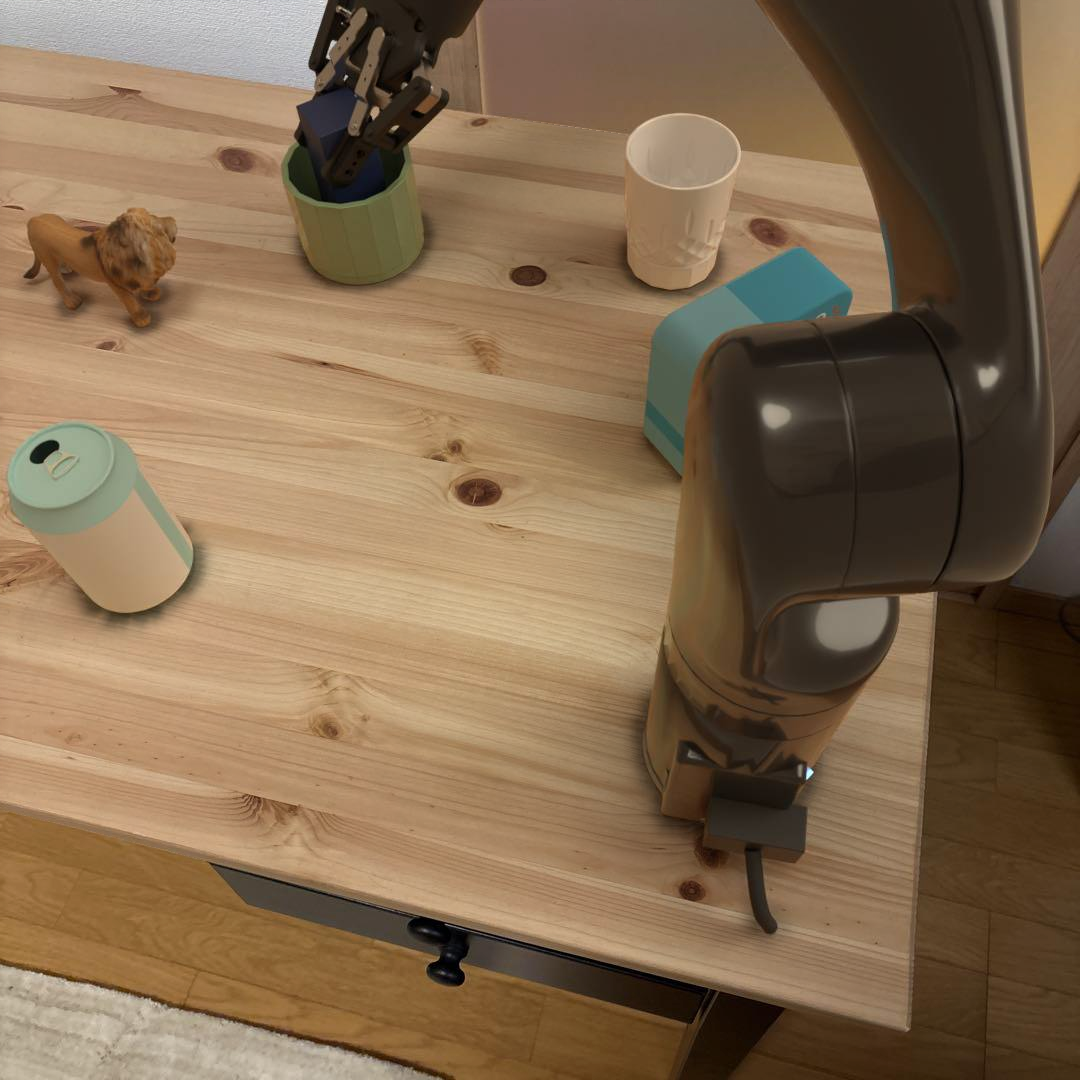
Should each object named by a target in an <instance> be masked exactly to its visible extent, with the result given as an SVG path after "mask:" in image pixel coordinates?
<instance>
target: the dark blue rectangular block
mask: <svg viewBox="0 0 1080 1080" xmlns="http://www.w3.org/2000/svg"><path fill="white" fill-rule="evenodd" d="M356 103H357V97H356V95H354V94H353V92H352V91H351V90H350V89H349V87H348V86H346V87H343V88H341V89H338V90H336V91H333V92H330V93H328V94H325V95H323V96H320V97H318V98H315V99H312V98H311V99H310V100H307V101H305V102H303V103H300V104H297V105H296V106H295V108H296V112H297V115H298V119H299V122H300V123H301V127H302V130H303V134H304V137H305V141H306V145H307V148H308V152H309V155H310V159H311V163H312V166H313V170H314V173H315V177H316V181H317V184H318V188H319V191H320V195H321V199H322V202H328V203H336V204H343V203H349V202H356V201H362V200H366V199H368V198H370V197H372V196H374V195H376V194H378V193H381V192H383V191H385V190H386V189H387V187H386V182H385V177H384V172H383V168H382V163H381V158H380V153H379V148H375V149H374V150H373V151H372V152H371V154H370V155H369V157H368V159H367V160H366V162H365V164H364V165H363V167H362V168H361V170H360V172H359V173H358V175H357V177H356V179H355V180H354V182H353V183H351V184H350V185H349V186H348V187H346V188H340V187H338V186H335V185H332V184H330V183H327V182H326V181H325V180H324V178H323V177H322V176H321V173H320V171H321V168H322V167H323V165H324V163H325V162H326V161H327V159H328V157H329V156H330V154H331V152H332V150H333V149H334V147H335V145H336V144H337V142H338V140H339V138H340V137H341V135H342V133H343V131H344V130H347V131H348V125H349V122H350V119H351V117H352V114H353V111H354V109H355V106H356ZM373 120H374V119H373V116H372V114H370V116H369V119H368V121H367V122H369V123H371V122H372V121H373Z"/></svg>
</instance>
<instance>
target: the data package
mask: <svg viewBox="0 0 1080 1080" xmlns="http://www.w3.org/2000/svg"><path fill="white" fill-rule="evenodd" d="M853 297H854V292H853V290H852V288H851V287H849V285H847V284H846V283H845V282H844V281H843V280H842V279H840V278H839V276H837V275H836V274H835V273H834V272H832V271H831V269H829V268H828V267H827V266H826V265H825V264H824V263H822V262H821V260H819V259H818V258H817V257H816V256H814V255H813V254H812V253H811V252H810V251H809V250H808V249H806V247H803V246H794V247H792V248H789V249H787V250H785V251H783V252H781V253H779V254H778V255H775V256H774V257H772V258H770V259H768V260H767V261H765V262H763V263H761V264H759V265H757V266H755V267H754V268H752V269H750V270H748V271H746V272H745V273H742V274H740V275H739V276H737V277H735V278H733V279H731V280H729V281H727V282H726V283H724V284H722V285H720V286H718V287H716V288H714V289H712V290H711V291H709V292H707V293H705V294H703V295H701V296H699V297H697V298H696V299H694V300H692V301H690V302H688V303H686V304H685V305H683V306H681V307H679V308H677V309H675V310H674V311H671V312H670V313H669V314H668V315H667V316H665V318H663V319H662V321H660V323H659V324H658V325H657V327H656V329H655V330H654V332H653V335H652V338H651V346H650V355H649V364H648V367H649V368H648V374H647V383H646V385H647V386H646V397H645V405H644V413H643V414H644V415H643V426H642V432H643V435H644V436H645V437H646V438H647V440H648V441H649V442H650V443H651V444H652V445H653V446H654V447H655V448H656V449H657V451H658V452H659V453H660V454H661V455H662V456H663V457H664V458H665V460H666V461H667V462H668V463H669V464H670V465H671V466H672V467H673V468H674V470H675V471H676V472H677V473H678V474H679V475H680V476H681V477H682V474H683V456H684V437H685V425H686V416H687V407H688V400H689V395H690V391H691V387H692V382H693V378H694V374H695V371H696V369H697V367H698V364H699V362H700V360H701V357H702V356H703V354H704V353H705V351H706V350H707V348H708V347H709V345H710V344H711V343H712V342H713V341H714V340H715V339H716V338H717V337H718V336H719V335H721V334H722V333H723V332H725V331H728V330H730V329H732V328H736V327H741V326H746V325H755V324H765V323H775V322H784V321H801V320H805V319H815V318H826V317H837V316H848V313H849V310H850V308H851V305H852V302H853Z"/></svg>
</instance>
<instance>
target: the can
mask: <svg viewBox="0 0 1080 1080" xmlns="http://www.w3.org/2000/svg"><path fill="white" fill-rule="evenodd" d="M6 483H7V487H8V501H9V504H10V508H11V510H12V512H13V514H14V516H15V517H16V518H17V520H18V521H19V522H20V523H21V524H22V525H23V526H24V528H25V529H26V530H27V531H29V533H30V534H31V535H32V537H34V539H35V540H36V541H37V542H38V543H39V544H40V545H41V546H42V547H43V548H44V549H45V550H46V552H48V554H49V555H50V556H51V557H52V558H53V559H54V560H55V562H57V564H59V566H60V567H61V568H62V569H63V571H65V572H66V573H67V575H68V576H69V577H70V578H71V579H72V580H73V581H74V582H75V583H76V584H77V585H78V586H79V588H80V589H81V590H82V591H83V592H84V593H85V594H86V595H87V596H88V597H89V599H90V600H91V601H92V602H94V604H96V605H98V606H99V607H101V608H102V609H105V610H107V611H111V612H114V613H122V614H123V613H124V614H126V613H127V614H128V613H136V612H141V611H145V610H148V609H152V608H153V607H156V606H159V605H160V604H161V603H164V602H165V601H167V600H168V599H169V598H170V597H172V596H173V595H174V594H175V593H176V592H177V591H178V590H179V589H180V588H181V586H183V584H184V582H185V581H186V580H187V578H188V576H189V574H190V572H191V570H192V566H193V561H194V547H193V543H192V540H191V538H190V536H189V534H188V533H187V531H186V530H185V528H184V526H183V524H182V523H181V521H180V520H179V519H178V517H177V516H176V514H175V512H174V511H173V509H172V508H171V507H170V505H169V503H168V502H167V500H166V499H165V497H164V496H163V494H162V493H161V491H160V489H159V488H158V487H157V485H156V483H155V482H154V480H153V479H152V478H151V476H150V474H149V473H148V471H147V470H146V468H145V467H144V465H143V463H142V462H141V460H140V459H139V457H138V456H137V455H136V453H135V451H134V450H133V448H132V447H131V446H130V444H129V443H128V442H126V441H125V439H123V438H122V437H120V436H118V435H117V434H115V433H113V432H110V431H108V430H105V429H103V428H101V427H100V426H98V425H96V424H94V423H91V422H87V421H83V420H68V421H61V422H56V423H53V424H49V425H48V426H44V427H43V428H41V429H39V430H37V431H35V432H34V433H32V434H31V435H29V437H27V438H26V439H25V440H24V441H22V443H21V444H19V445H18V446H17V448H16V449H15V451H14V452H13V454H12V455H11V458H10V459H9V461H8V464H7V469H6Z"/></svg>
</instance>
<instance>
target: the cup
mask: <svg viewBox="0 0 1080 1080" xmlns="http://www.w3.org/2000/svg"><path fill="white" fill-rule="evenodd" d="M395 130H396V129H393V128H391V129H390V132H392V133H393V132H394V131H395ZM378 148H379V147H378ZM410 149H411V148H410V145H409V143H408V144H407V145H406V146H405V147H404V148H403V149H402V150H401V151H400V152H399V153H397V154H393V153H390V152H388V151H387V150H384V149H382V148H379V153H380V158H381V163H382V168H383V172H384V177H385V182H386V187H387V189H386V190H385V191H383V192H381V193H378V194H376V195H374V196H372V197H370V198H368V199H366V200H362V201H356V202H349V203H343V204H336V203H328V202H322V199H321V195H320V191H319V188H318V184H317V181H316V177H315V173H314V170H313V166H312V163H311V159H310V155H309V152H308V149H307V148H305V147H303V146H300V145H299V144H298V142H297V141H296V140H295V142H293V144H291V145H290V146H289V147H288V149H287V151H286V153H285V155H284V157H283V159H282V162H281V164H280V171H281V180H282V181H281V182H282V184H283V188H284V191H285V194H286V198H287V201H288V203H289V207H290V210H291V213H292V217H293V220H294V223H295V226H296V231H297V233H298V237H299V239H300V242H301V247H302V249H303V252H304V253H305V255H306V258H307V260H308V262H309V264H310V265H311V267H312V268H313V269H314V270H315V272H317V273H318V274H320V275H321V276H323V277H325V278H326V279H328V280H330V281H333V282H335V283H340V284H343V285H345V284H346V285H352V286H353V285H354V286H356V285H357V286H358V285H359V286H360V285H361V286H363V285H372V284H377V283H380V282H383V281H387V280H389V279H392V278H394V277H396V276H397V275H400V274H401V273H403V272H405V270H407V269H408V268H409V267H410V266H412V264H413V263H414V262H415V261H416V260H417V258H418V257H419V255H420V254H421V252H422V249H423V246H424V243H425V229H424V224H423V219H422V212H421V207H420V200H419V195H418V189H417V182H416V176H415V171H414V164H413V160H412V154H411V150H410Z"/></svg>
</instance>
